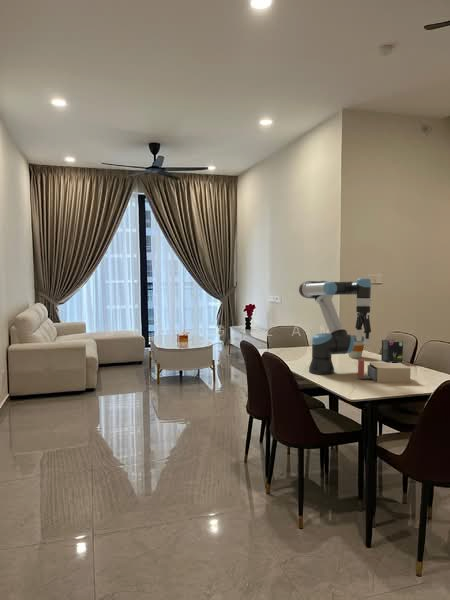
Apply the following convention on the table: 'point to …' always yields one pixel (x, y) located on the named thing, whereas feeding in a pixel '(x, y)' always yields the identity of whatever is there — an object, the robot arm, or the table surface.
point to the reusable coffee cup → (357, 348)
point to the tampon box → (392, 351)
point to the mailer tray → (371, 371)
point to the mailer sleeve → (392, 372)
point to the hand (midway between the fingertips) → (362, 342)
